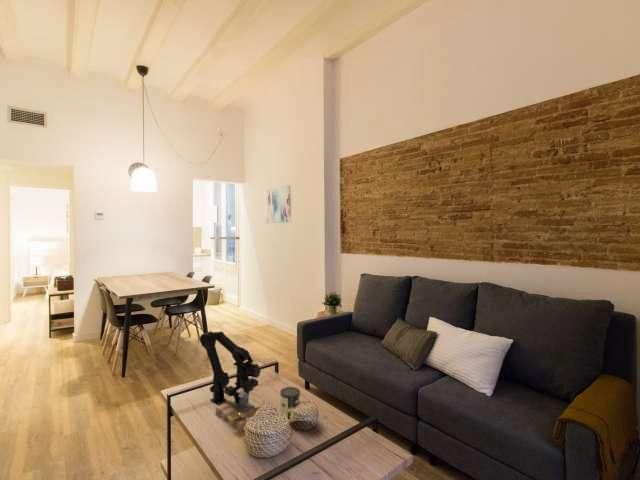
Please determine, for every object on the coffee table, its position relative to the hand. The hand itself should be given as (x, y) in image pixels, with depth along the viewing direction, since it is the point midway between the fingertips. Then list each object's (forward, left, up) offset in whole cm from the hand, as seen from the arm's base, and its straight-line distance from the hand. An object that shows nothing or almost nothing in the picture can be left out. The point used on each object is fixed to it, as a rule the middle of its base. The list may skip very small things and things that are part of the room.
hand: (241, 401), depth 189 cm
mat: (0, 0, -3) cm, 3 cm away
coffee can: (+27, +11, -3) cm, 29 cm away
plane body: (+8, -11, -3) cm, 14 cm away
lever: (+14, -11, +2) cm, 18 cm away
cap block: (0, 0, -1) cm, 1 cm away
